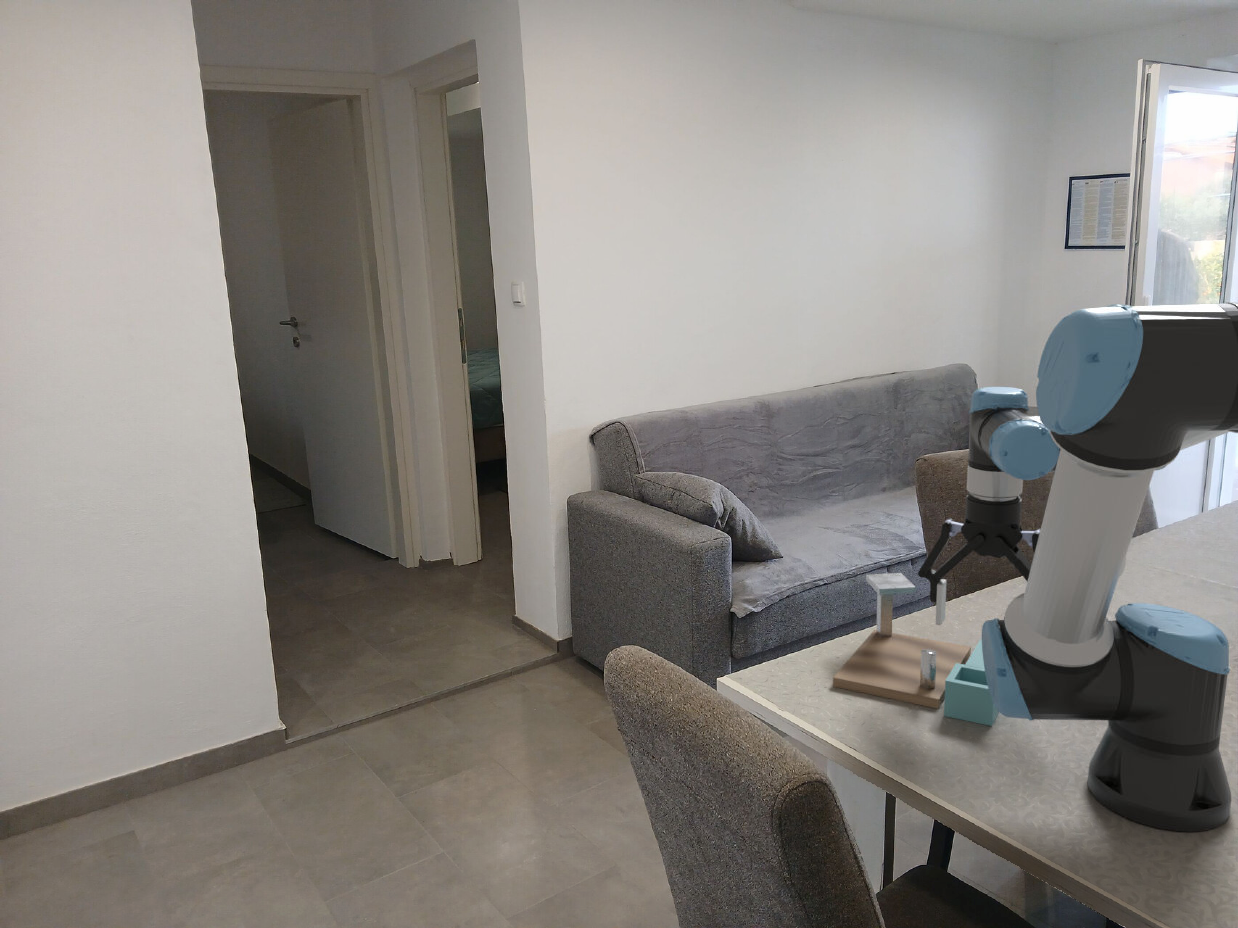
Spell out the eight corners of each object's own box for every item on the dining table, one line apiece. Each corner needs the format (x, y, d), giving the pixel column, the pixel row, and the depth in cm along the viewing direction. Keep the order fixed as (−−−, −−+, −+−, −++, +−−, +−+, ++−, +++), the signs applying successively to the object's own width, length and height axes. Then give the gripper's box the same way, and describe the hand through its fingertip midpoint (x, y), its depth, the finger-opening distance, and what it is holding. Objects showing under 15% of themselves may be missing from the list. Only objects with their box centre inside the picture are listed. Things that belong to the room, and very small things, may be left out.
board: (938, 708, 140) (938, 699, 140) (832, 686, 148) (833, 677, 148) (970, 655, 157) (970, 646, 157) (874, 637, 166) (874, 629, 165)
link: (992, 726, 134) (994, 690, 133) (943, 715, 138) (945, 680, 137) (1018, 670, 151) (1020, 637, 150) (974, 662, 155) (976, 630, 153)
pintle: (932, 699, 143) (934, 656, 141) (918, 696, 144) (919, 653, 142) (936, 693, 144) (938, 650, 143) (921, 690, 146) (923, 648, 144)
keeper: (913, 655, 158) (915, 586, 155) (877, 657, 158) (879, 589, 155) (899, 638, 165) (901, 572, 162) (864, 640, 164) (866, 574, 162)
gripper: (1092, 496, 135) (1081, 635, 140) (914, 479, 148) (909, 607, 153) (1085, 511, 129) (1074, 655, 134) (900, 491, 142) (896, 624, 147)
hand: (986, 630), depth 144 cm, fingers open, 13 cm apart
